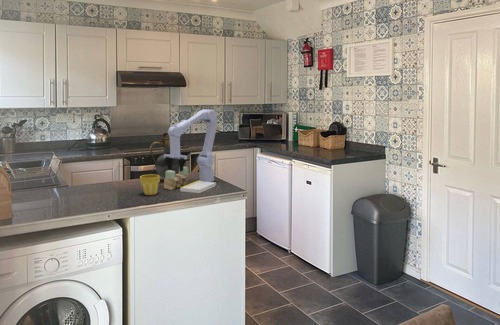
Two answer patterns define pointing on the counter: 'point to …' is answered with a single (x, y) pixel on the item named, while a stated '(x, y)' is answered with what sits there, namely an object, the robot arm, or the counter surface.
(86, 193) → the counter surface
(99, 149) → the counter surface
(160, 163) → the pitcher
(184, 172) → the block
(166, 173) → the block
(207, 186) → the dock
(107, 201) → the counter surface
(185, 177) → the tan wooden bar
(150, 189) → the plant pot
